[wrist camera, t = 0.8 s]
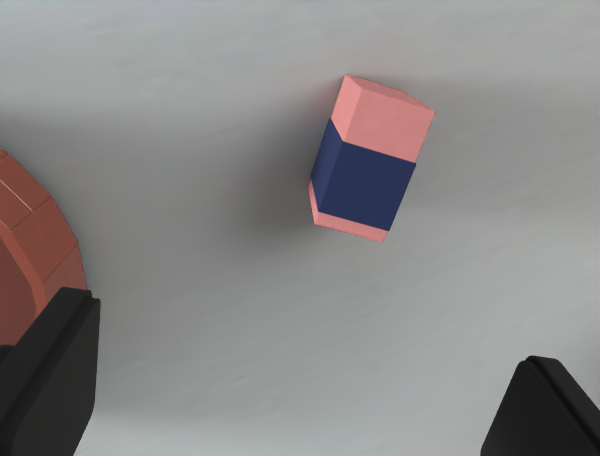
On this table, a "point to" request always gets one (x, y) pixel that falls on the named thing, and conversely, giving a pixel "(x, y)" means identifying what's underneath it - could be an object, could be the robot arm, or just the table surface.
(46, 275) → the bowl
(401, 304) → the table surface
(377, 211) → the eraser
